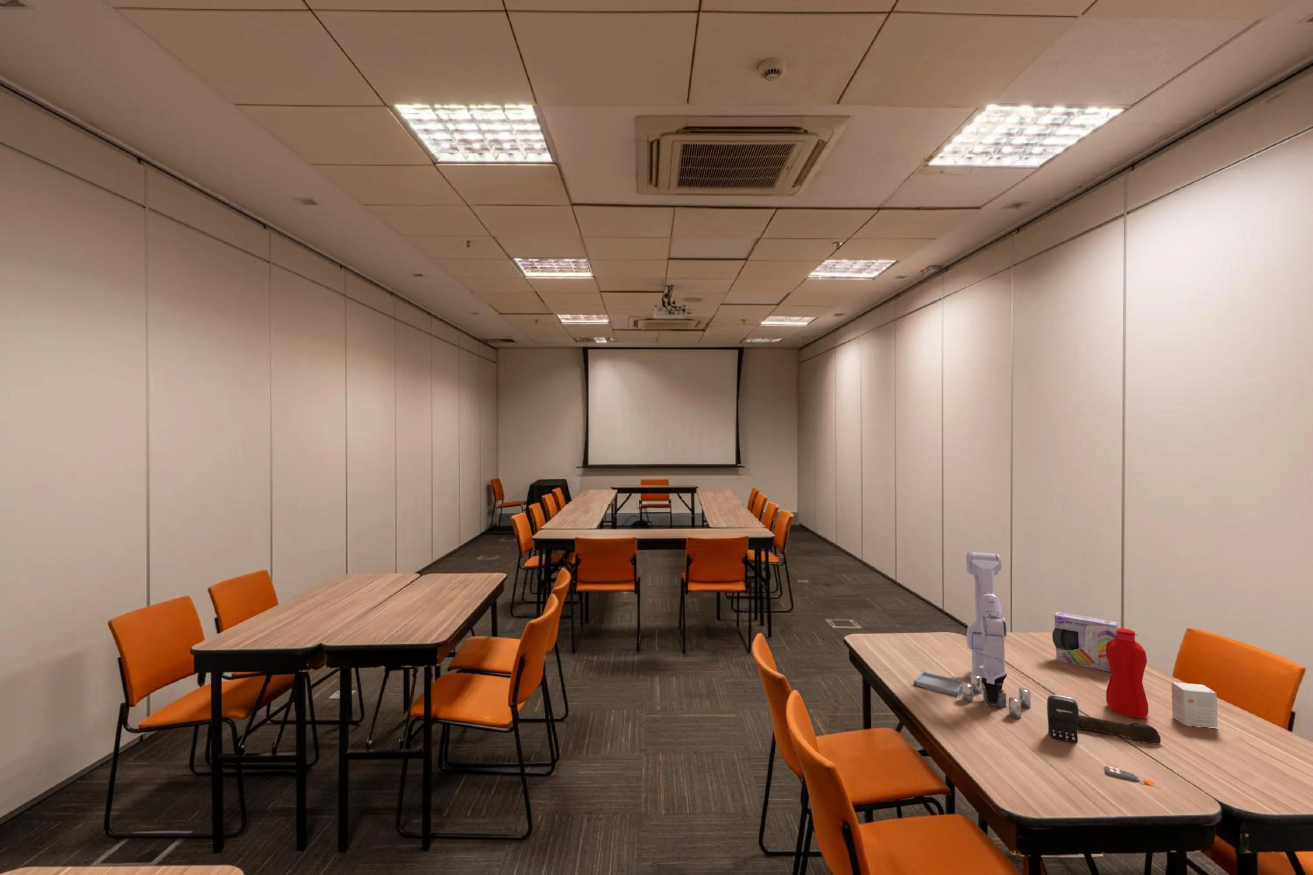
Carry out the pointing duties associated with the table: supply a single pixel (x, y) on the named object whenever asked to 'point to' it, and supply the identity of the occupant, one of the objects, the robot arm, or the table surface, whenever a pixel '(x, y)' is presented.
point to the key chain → (1124, 775)
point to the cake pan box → (1082, 640)
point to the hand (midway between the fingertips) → (994, 698)
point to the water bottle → (1126, 675)
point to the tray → (939, 683)
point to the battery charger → (1062, 718)
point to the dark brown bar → (1121, 729)
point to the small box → (1194, 705)
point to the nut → (1001, 699)
